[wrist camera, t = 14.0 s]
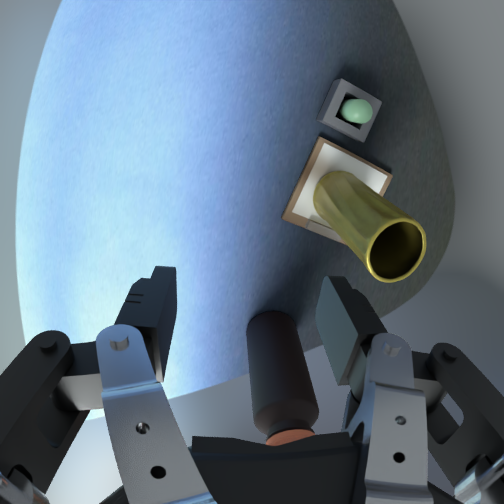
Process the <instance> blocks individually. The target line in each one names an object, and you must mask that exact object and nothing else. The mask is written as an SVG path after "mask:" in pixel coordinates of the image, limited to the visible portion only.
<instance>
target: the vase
mask: <svg viewBox="0 0 504 504" xmlns="http://www.w3.org/2000/svg"><path fill="white" fill-rule="evenodd" d="M313 204H314V208H315V210H316V212H317V214H318V215H319V216H320V217H321V218H322V219H323V220H325V221H327V223H328V224H329V225H330V226H331V228H332V229H333V230H334V231H335V232H336V233H337V234H338V235H339V236H340V237H341V238H342V240H343V241H344V242H345V243H346V244H347V245H348V246H349V247H350V248H351V250H352V251H353V252H354V253H355V254H356V255H357V256H358V257H359V259H360V260H361V261H362V262H363V263H364V265H365V266H366V268H367V269H368V271H369V272H370V273H371V274H372V275H373V276H374V277H375V278H376V279H378V280H380V281H382V282H395V281H399V280H402V279H404V278H406V277H407V276H409V275H410V274H411V273H412V272H413V271H414V270H415V269H416V268H417V266H418V265H419V264H420V262H421V261H422V258H423V256H424V254H425V251H426V235H425V232H424V230H423V228H422V227H421V225H420V224H419V223H418V222H417V221H415V220H414V219H413V218H412V217H411V216H409V215H408V214H406V213H405V212H403V211H402V210H401V209H399V208H398V207H396V206H395V205H393V204H392V203H391V202H389V201H388V200H386V199H385V198H384V197H382V196H381V195H379V194H378V193H377V192H375V191H374V190H373V189H371V188H370V187H369V186H367V185H366V184H365V183H363V182H362V181H361V180H359V179H358V178H357V177H356V176H355V175H353V174H352V173H349V172H346V171H334V172H331V173H329V174H327V175H326V176H324V177H323V178H322V179H321V180H320V181H319V183H318V184H317V185H316V187H315V190H314V194H313Z"/></svg>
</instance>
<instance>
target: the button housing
mask: <svg viewBox="0 0 504 504" xmlns="http://www.w3.org/2000/svg"><path fill="white" fill-rule="evenodd" d="M344 96H346V97H348V98H350V99H363V100H366V101H367V102H368V103H369V104H370V105H371V107H372V111H373V114H372V117H371V119H370V120H369V121H368V122H366V123H356V122H354V123H353V125H350V124H348V123H346V122H344V121H342V120H340V119H338V118H337V117H335V116H336V113H337V111H338V109H339V107H340V105H341V102H342V100H343V98H344ZM381 104H382V102H381V101H380V100H378V99H376V98H375V97H373V96H372V95H370V94H368V93H366V92H365V91H363V90H361V89H360V88H358V87H356V86H354V85H352V84H351V83H349V82H347V81H345V80H343V79H338V80H334V81H333V83H332V86H331V88H330V90H329V92H328V94H327V97H326V99H325V101H324V103H323V105H322V108H321V110H320V112H319V114H318V116H317V119H316V120H317V121H319V122H321V123H323V124H325V125H327V126H329V127H331V128H333V129H335V130H337V131H339V132H341V133H343V134H345V135H347V136H348V137H350V138H352V139H354V140H357V141H360V142H363V143H364V141H365V139H366V137H367V135H368V133H369V130H370V128H371V126H372V124H373V122H374V119H375V117H376V115H377V113H378V110H379V108H380V106H381Z"/></svg>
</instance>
